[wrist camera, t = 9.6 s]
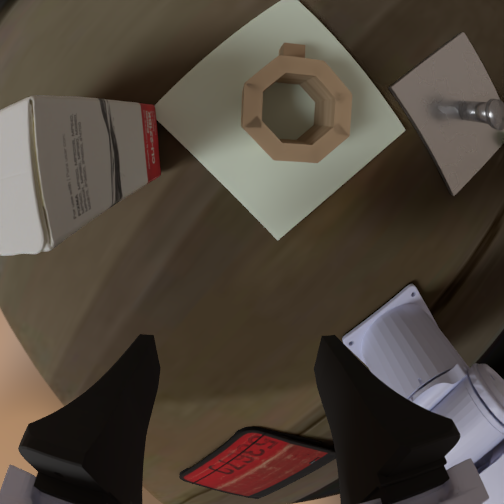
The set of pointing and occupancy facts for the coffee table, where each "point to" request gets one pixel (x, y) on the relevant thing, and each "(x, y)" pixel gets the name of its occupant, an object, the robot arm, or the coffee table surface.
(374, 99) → the pad
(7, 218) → the ink box
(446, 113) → the plate
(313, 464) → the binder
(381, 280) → the coffee table surface
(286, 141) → the collar
